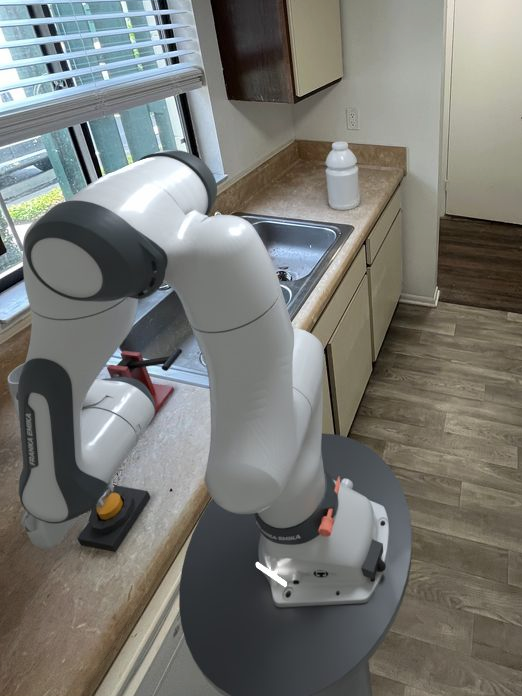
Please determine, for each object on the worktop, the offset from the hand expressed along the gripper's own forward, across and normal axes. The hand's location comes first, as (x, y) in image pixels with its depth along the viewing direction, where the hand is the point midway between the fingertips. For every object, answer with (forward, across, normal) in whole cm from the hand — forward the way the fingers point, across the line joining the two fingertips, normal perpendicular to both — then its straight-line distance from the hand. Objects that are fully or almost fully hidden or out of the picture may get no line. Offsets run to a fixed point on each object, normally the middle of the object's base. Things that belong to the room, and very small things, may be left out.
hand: (104, 498), depth 77 cm
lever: (-6, +23, +7) cm, 25 cm away
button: (+3, 0, 0) cm, 3 cm away
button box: (+7, 0, 0) cm, 7 cm away
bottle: (+7, +128, -6) cm, 128 cm away
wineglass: (+7, +12, +23) cm, 27 cm away
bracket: (+7, +23, +13) cm, 27 cm away
